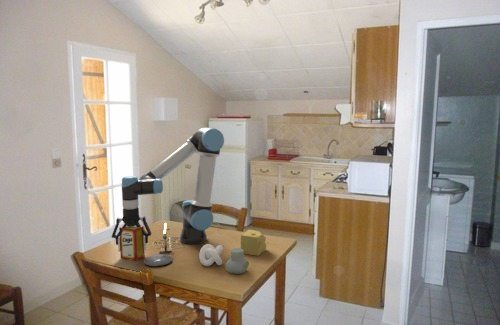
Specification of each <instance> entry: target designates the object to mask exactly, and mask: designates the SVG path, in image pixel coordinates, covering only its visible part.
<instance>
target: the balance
mask: <svg viewBox="0 0 500 325" xmlns="http://www.w3.org/2000/svg"><path fill="white" fill-rule="evenodd" d="M160 230H161V231H163V236H162V238H160V241H161V242H164V244H163V246H164V247H163V248H159V254H169V253H172V247H168V246H167V244H168V241H170V238H169V237H168V235H167V231H170V230H171V229H170V227H167V223H166V222H165V223H164V227H162V228H161V229H160Z"/></svg>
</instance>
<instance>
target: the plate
mask: <svg viewBox="0 0 500 325" xmlns="http://www.w3.org/2000/svg"><path fill="white" fill-rule="evenodd" d="M172 261H173V257H172V256H171V255H169V254H166V253H159V254H151V255H149V256H147V257H145V259H144V261H143V262H144V264H145V265H146V266H150V267H159V266H165V265H167V264H170V263H172Z"/></svg>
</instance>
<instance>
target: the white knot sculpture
mask: <svg viewBox="0 0 500 325" xmlns="http://www.w3.org/2000/svg"><path fill="white" fill-rule="evenodd" d="M223 251H224V246H223V245H222V244H218V245H217V246H216V247H215V246H214V245H212V244H210V243H206V244H204V245H203V246H202V247H201V248H200V251H199V255H198V257H199V261H200V263H201V264H202V266H205V267H209V266H211V265H213V264H214V263H215V264H216V265H218V266H222V265H223V260H222V258H221V255H222V254H223Z"/></svg>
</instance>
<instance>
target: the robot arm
mask: <svg viewBox="0 0 500 325" xmlns="http://www.w3.org/2000/svg"><path fill="white" fill-rule="evenodd" d="M224 144H225V138H224V134H223V133H222V131H220V130H219V129H217V128H214V127H201V128H200V129H197V131H195V132H194V133H193V134H191V136H190V137H188V138H187V139H186V142H185V143H184V144H182V145H181V146H180V147H179V148H178V149H176V150H175V151H174V152H172V153H171V154H170V155H168V157H166V158H164V159H163V160H162V161H161V162H159V163H158V164H157V165H155V167H153V168H152V169H151V170H150V171H148V172H146V174H143V175H141V176H140V177H139V178H138V176H135V175H126V176H123V177H122V178H121V197H122V199H121V200H122V217H117V218H116V223H115V226H114V229H113V232H112V235H111V238H112V239H115V245H116V246H117V247H118V248H117V249H118V250H117V251H118V252H119V253H120V234H121V233H122V232H123V229H121V230H120V231H118V228H119V225H120V223H122V222H123V225H122V226H123V227H122V226H121V227H122V228H125V227H126V226H135V225H136V227H141V226H142V225H141V224H140V221H141V222H142V223H143V225H144V230H143V229H142V228H141V229H142V233H143V235H144V251H146V248H147V243H149V237H150V236H151V235H152V231H151V228H150V227H149V225H148V222H147V218H146V216H145V215H144V216H140V210H139V209H140V207H139V204H140V203H139V196H144V195H156V194H158V195H159V194H162V193H163V190H164V184H163V179H164V178H166V177H167V176H168V175H169V174H171V173H172V172H174V171H175V170H176V169H178V167H179V166H181V165H182V164H183V163H184V162H185V161H187V160H188V159H189V158H191V157H192V156H193V155H194V154H198V155H199V160H198V167H197V168H198V169H197V175H196V183H195V191H194V199H189V200H184V201H183V202H182V205H181V208H182V229H181V232H180V236H179V241H180V243H183V244H186V245H187V244H188V245H194V244H202V243H205V242H206V241H207V238H208V237H207V236H208V234H207V232H206V230H209V228H211V226H212V225H213V223H214V214H213V204H212V202H211V197H212V190H213V183H214V175H215V168H216V161H217V157H219V156H220V154H221V149H222V147H223V146H224ZM117 231H118V232H117ZM116 233H117V234H116Z"/></svg>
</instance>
